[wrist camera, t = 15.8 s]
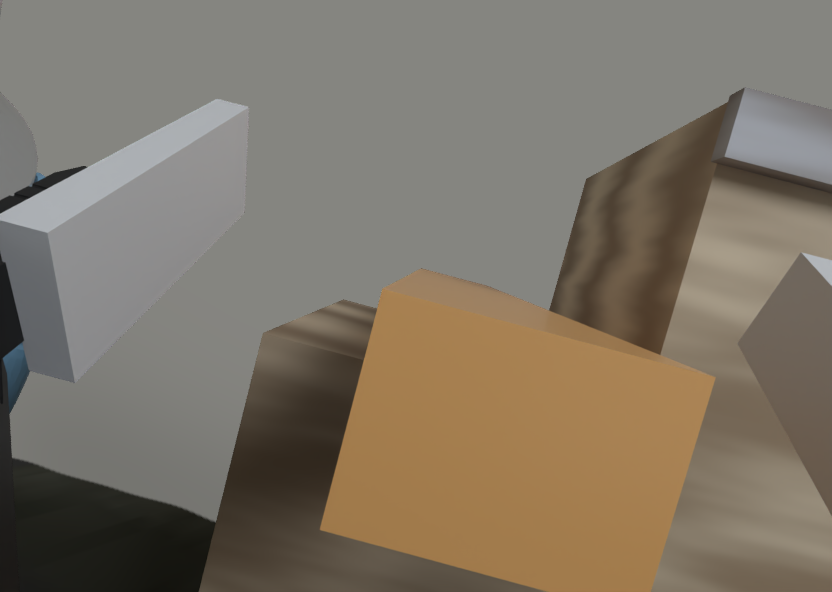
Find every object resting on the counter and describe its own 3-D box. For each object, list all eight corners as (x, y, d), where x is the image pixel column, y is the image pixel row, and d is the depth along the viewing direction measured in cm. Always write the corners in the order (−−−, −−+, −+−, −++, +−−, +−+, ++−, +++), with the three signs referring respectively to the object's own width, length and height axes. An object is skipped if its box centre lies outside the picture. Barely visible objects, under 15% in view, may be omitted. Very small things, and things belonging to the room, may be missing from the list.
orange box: (408, 317, 33) (421, 268, 32) (474, 335, 33) (487, 285, 32) (320, 529, 7) (382, 289, 6) (643, 618, 7) (716, 377, 6)
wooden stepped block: (265, 602, 35) (387, 126, 33) (644, 705, 34) (789, 232, 32) (109, 923, 18) (342, -18, 16) (848, 1129, 17) (1176, 198, 16)
